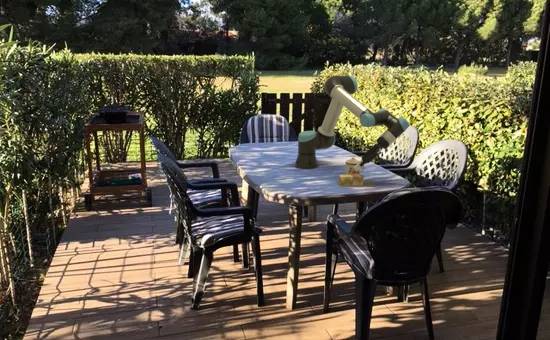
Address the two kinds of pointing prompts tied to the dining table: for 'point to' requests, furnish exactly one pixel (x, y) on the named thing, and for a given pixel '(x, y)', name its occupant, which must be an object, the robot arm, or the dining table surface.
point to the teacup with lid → (352, 167)
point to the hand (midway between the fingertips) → (355, 169)
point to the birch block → (351, 179)
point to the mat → (365, 184)
